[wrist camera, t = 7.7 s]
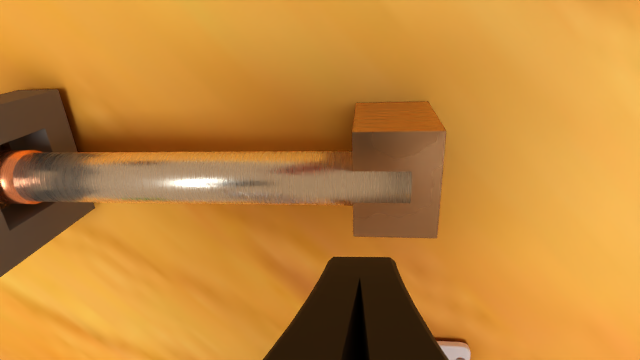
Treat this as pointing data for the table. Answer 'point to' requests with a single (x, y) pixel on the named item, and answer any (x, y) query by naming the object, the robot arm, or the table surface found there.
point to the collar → (46, 136)
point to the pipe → (262, 174)
